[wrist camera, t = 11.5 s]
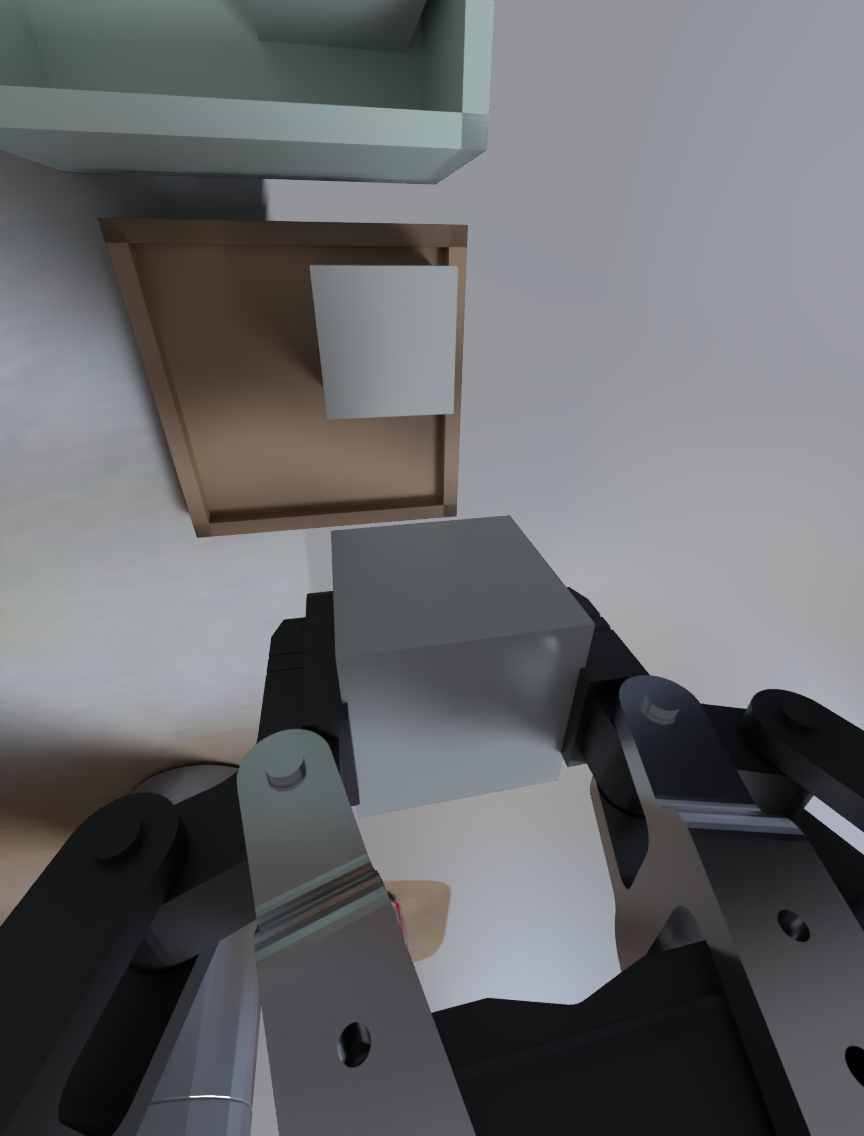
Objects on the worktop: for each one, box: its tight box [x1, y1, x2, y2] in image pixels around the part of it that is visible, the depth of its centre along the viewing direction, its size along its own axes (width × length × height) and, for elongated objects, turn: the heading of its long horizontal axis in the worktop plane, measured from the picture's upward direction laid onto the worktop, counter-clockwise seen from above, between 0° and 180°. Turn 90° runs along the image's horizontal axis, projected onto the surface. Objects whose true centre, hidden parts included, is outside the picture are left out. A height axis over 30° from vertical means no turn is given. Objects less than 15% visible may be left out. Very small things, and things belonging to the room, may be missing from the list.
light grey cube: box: [310, 264, 458, 420], centre depth 15 cm, size 4×4×4 cm
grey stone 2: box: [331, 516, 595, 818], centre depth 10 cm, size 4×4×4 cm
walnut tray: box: [98, 218, 468, 538], centre depth 18 cm, size 11×11×1 cm
